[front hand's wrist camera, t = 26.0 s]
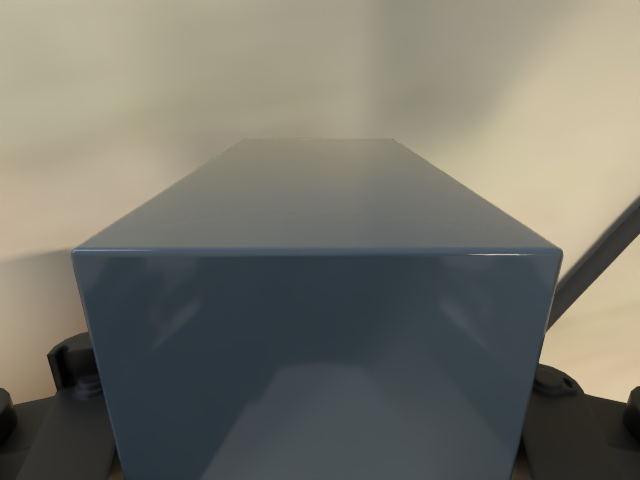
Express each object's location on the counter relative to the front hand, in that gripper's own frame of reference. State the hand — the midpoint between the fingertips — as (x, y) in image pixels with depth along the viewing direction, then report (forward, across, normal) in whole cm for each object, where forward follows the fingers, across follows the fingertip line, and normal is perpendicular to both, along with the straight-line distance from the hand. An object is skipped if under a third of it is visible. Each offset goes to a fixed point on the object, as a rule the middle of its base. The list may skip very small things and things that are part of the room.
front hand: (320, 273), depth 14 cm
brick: (+2, 0, 0) cm, 2 cm away
